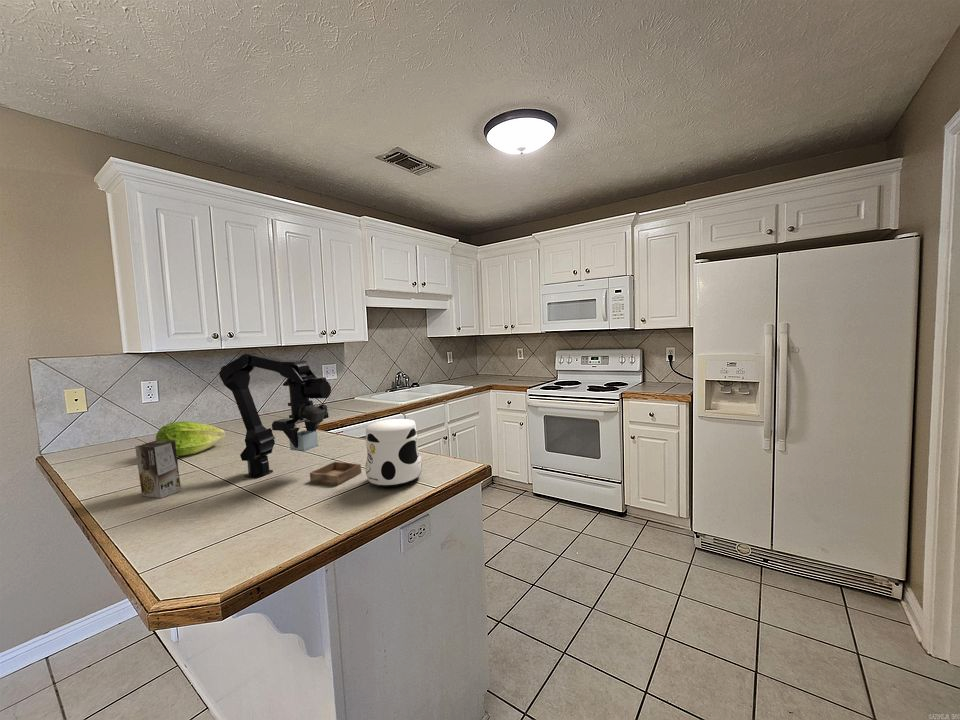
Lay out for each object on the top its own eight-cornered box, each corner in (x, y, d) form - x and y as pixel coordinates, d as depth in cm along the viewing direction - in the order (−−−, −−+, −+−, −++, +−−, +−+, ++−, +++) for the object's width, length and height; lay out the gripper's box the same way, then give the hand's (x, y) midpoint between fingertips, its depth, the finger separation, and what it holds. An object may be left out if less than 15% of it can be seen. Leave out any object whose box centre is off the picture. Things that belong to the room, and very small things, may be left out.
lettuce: (231, 450, 173) (230, 417, 175) (160, 459, 155) (160, 422, 157) (219, 450, 185) (219, 419, 186) (152, 458, 167) (152, 424, 168)
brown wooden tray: (310, 482, 128) (309, 472, 128) (335, 469, 139) (334, 461, 138) (337, 485, 124) (336, 476, 124) (361, 472, 134) (360, 464, 134)
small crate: (290, 450, 131) (289, 435, 131) (304, 444, 137) (303, 430, 136) (304, 451, 129) (302, 436, 129) (318, 445, 134) (316, 431, 134)
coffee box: (182, 490, 127) (176, 440, 126) (160, 498, 121) (154, 447, 120) (162, 488, 130) (156, 439, 129) (140, 496, 124) (134, 445, 123)
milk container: (356, 483, 125) (351, 426, 124) (401, 466, 138) (397, 415, 136) (387, 496, 114) (382, 434, 112) (434, 477, 126) (430, 421, 125)
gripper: (294, 404, 120) (299, 455, 121) (338, 394, 137) (342, 438, 138) (268, 404, 124) (273, 453, 125) (314, 393, 141) (318, 436, 143)
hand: (304, 444), depth 133 cm, fingers closed on small crate, 6 cm apart
